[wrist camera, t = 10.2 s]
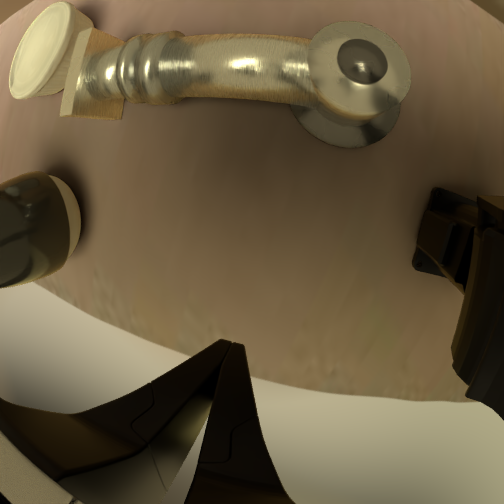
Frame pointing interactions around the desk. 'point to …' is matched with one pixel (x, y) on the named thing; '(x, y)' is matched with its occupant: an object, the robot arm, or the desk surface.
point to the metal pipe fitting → (123, 86)
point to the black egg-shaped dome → (36, 227)
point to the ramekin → (46, 51)
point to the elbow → (280, 70)
